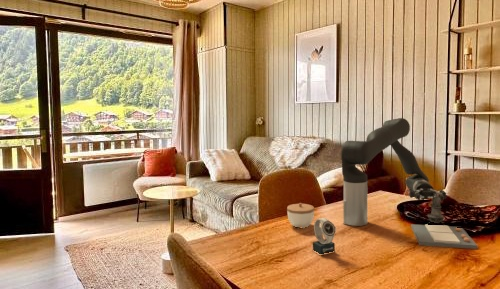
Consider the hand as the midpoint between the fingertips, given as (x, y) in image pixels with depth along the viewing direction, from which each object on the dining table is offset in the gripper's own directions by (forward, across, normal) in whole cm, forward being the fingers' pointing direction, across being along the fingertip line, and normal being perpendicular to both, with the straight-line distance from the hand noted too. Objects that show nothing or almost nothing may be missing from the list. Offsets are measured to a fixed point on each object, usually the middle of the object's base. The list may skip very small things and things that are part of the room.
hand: (430, 198), depth 148 cm
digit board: (+26, -1, +7) cm, 27 cm away
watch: (+46, -40, +7) cm, 62 cm away
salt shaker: (+12, 0, +8) cm, 14 cm away
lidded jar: (+22, -51, +8) cm, 56 cm away
